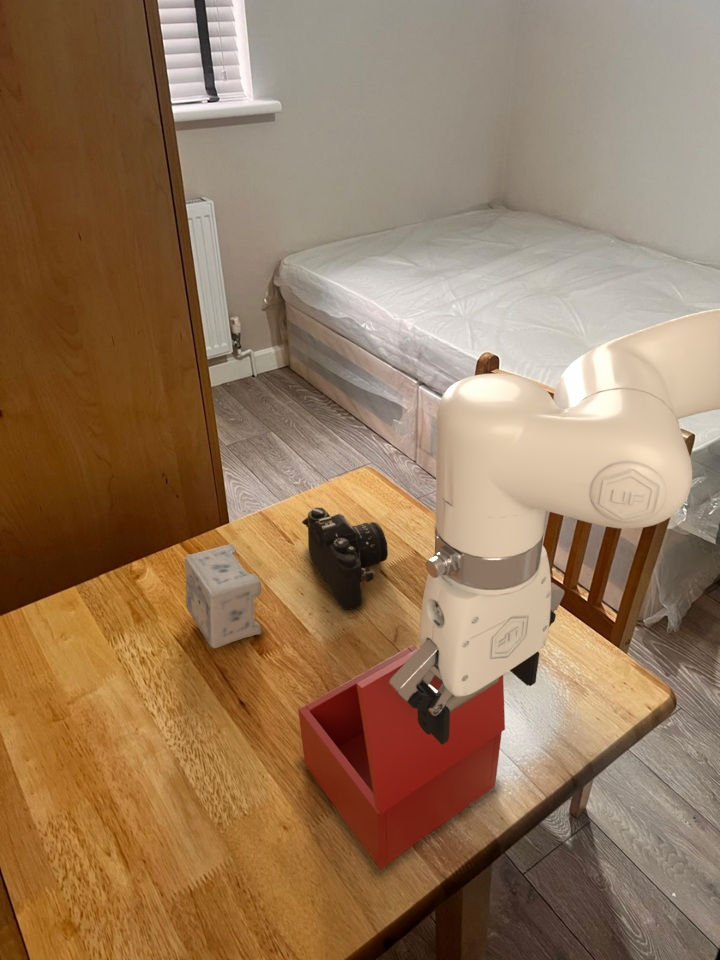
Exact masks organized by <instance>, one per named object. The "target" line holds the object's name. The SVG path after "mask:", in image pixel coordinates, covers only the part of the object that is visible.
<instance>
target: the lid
mask: <svg viewBox="0 0 720 960" xmlns="http://www.w3.org/2000/svg"><path fill="white" fill-rule="evenodd" d="M417 648H418V649H419V647H417ZM418 649H416V650H415V651H413V652H411V653H409V654H407V655H406V656H404V657H402V658H400V659H399V660H397V661H395V662H393V663H392V664H390V665H388V666H386V667H385V668H383V669H381V670H379V671H378V672H376V673H374V674H372V675H371V676H369V677H367V678H365V679H364V680H362V681H360V682H358V683H357V690H358V697H359V703H360V710H361V716H362V722H363V729H364V735H365V742H366V748H367V755H368V761H369V768H370V774H371V781H372V787H373V793H374V800H375V806H376V809H377V811H378V812H379V813H380V814H382V813H383V812H384V811H386V810H387V809H389V808H390V807H392V806H393V805H395V804H396V803H398V802H399V801H401V800H402V799H404V798H405V797H407V796H408V795H409V794H411V793H412V792H414V791H415V790H417V789H418V788H420V787H421V786H423V785H424V784H426V783H427V782H429V781H430V780H432V779H433V778H434V777H436V776H437V775H439V774H440V773H442V772H443V771H445V770H446V769H448V768H449V767H451V766H452V765H454V764H455V763H456V762H458V761H459V760H461V759H462V758H464V757H465V756H467V755H468V754H470V753H471V752H473V751H474V750H476V749H477V748H479V747H480V746H481V745H483V744H484V743H486V742H487V741H489V740H490V739H492V738H493V737H495V736H496V735H498V734H499V733H501V732H504V731H506V720H505V716H506V715H505V691H504V690H505V689H504V688H505V687H504V674H503V675H502V676H500V677H498V678H497V679H495V680H494V681H492V682H491V683H489V684H487V685H486V686H484V687H482V688H481V689H479V690H477V691H476V692H474V693H472V694H469V695H466V696H461V697H456V696H454V695H453V694H452V696H451V697H450V699H449V700H448V702H447V704H446V706H447V707H448V708H449V710H450V726H449V739H448V741H447V742H446V743H444V744H443V745H442V744H441V743H440V742H439V741H438V740H437V739H436V738H435V737H434V736H433V735H432V734H430V735H428V734H426V733H425V732H424V731H423V729H422V728H421V727H420V725H419V723H418V709H416V708H413V707H412V706H411V705H410V704H409V703H408V702H406V701H405V700H404V699H403V698H402V697H401V696H400V695H399V694H398V693H397V692H396V691H395V690H394V688H393V687H392V686H391V685H390V684H389V681H390V679H391V678H392V676H393V675H394V674H395V673H396V672H397V671H398V670H399V669H400V668H401V667H402V666H403V665H404V664H405V663H406V662H407V661H408V660H409V659H410V658H411V657H412V656H413V655H414V654H415V652H416V651H417V650H418ZM442 684H443V683H442V682H441V681H440V680H439V679H438V678H437V677H436V676H434V677H433V679H432V680H431V682H430V684H429V685H428V686H430V687H431V688H432V689H433V690H434V691H435V692H436V693H437V692H438V690H439V688H440V687H441V685H442ZM501 734H502V733H501Z"/></svg>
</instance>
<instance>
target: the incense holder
mask: <svg viewBox="0 0 720 960" xmlns="http://www.w3.org/2000/svg"><path fill="white" fill-rule="evenodd" d="M236 552H237V548H236V546H235V545H234V544H233V543H230V544H225V545H220V546H218V547H217V546H216V547H214V548H209V549H207V550H203V551H199V552H194V553H191V554H187V555H185V558H184V568H185V570H184V573H185V575H184V576H185V605H186V609H187V611H188V613H189V615H190V617H192V619H193V620H194V622H195V623H196V626H197V627H198V629H199V630H200V632H201V633H202V635H203V637H204V639H205V640H206V642H207V644H208V646H209V647H210V648H211V649H217V648H220V647H223V646H226V645H228V644H231V643H233V642H236V641H239V640H242V639H245V638H250V637H253V636H255V635H256V636H257V635H261V634H262V626H261V624H260V623H259V622H257V621H256V620H255V619H256V618H255V609H256V607H255V599H256V598H257V597H258V596H259V595H260V594H261V593H262V582H261V579H260V577H259V576H258V575H256V574H254V573H249V572H247V570H246V569H244V567H243V566H242V565H241V563H240V561H239V560H238V559H237V557H236V556H235V555H234V554H235V553H236Z"/></svg>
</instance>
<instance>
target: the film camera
mask: <svg viewBox="0 0 720 960" xmlns="http://www.w3.org/2000/svg"><path fill="white" fill-rule="evenodd" d="M301 524H303V525H304V526H305V527H306V528H307V538H308V543H307V544H308V554H309V556H310V559H311V561H312V563H313V565H314V566H315V567H316V569H317V571H318V572H319V574H320V576H321V577H322V579H323V581H324V583H325V584H326V585H327V586H328V588H329V589H330V591H331V593H332V595H333V597H334V598H335V600H336V601H337V603H338V604H339V605H340V606H341V607H342V608H343V609H344V610H346V611H349V610H354V609H356V608H358V607H360V606H361V605H362V583H364V582H367V583H368V582H371V581H373V580H374V579H375V571H374V570H373V569H372V568H371V567H372V566H376V565H379V564H380V563H383V562H385V561H386V560H387V559H388V556H389V552H388V551H389V550H388V542H387V539H386V536H385V535H386V534H385V532H384V530H383V529H382V527H381V525H380V524H379V523H378V522H375V521H371V522H369V523H368V522H363V523H360V524H357V525H351V523H350V522H349V520H348V519H347V518H346V517H345V515H344V514H340V513H337V514H335V515H332V516H331V514H329V513H328V511H326V510H325V509H324V508H323V507H314V508H313V509H312V510H310V511H308V513H307V517H306V518H304V519H303V520H302V521H301ZM366 569H368V570H369V571H366Z"/></svg>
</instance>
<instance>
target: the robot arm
mask: <svg viewBox="0 0 720 960" xmlns="http://www.w3.org/2000/svg"><path fill="white" fill-rule="evenodd" d="M715 410H716V411H717V410H720V308H713V309H707V310H703V311H699V312H695V313H690V314H686V315H682V316H679V317H675V318H672V319H670V320H666V321H662V322H660V323H657V324H653V325H651V326H648V327H645V328H642V329H639V330H636V331H633V332H631V333H628V334H625V335H622V336H619V337H617V338H614V339H612V340H609V341H607V342H604V343H602V344H600V345H598V346H595V347H593V348H592V349H590V350H589V351H587V352H585V353H584V354H582V355H579V357H577V359H575V360H574V361H572V363H570V364H569V365H568V367H567V368H566V369H565V370H564V371H563V373H562V374H561V376H560V377H559V380H558V382H557V383H556V385H555V388H554V392H553V397H552V395H551V394H550V393H549V392H548V391H547V389H545V388H544V387H543V386H542V385H540V384H538V383H537V382H535V381H533V380H531V379H529V378H526V377H523V376H520V375H515V374H509V373H482V374H476V375H471V376H468V377H465V378H463V379H460V380H459V381H457V382H455V383H453V384H452V385H450V386H449V387H448V388H447V390H446V391H445V392H443V394H442V396H441V398H440V400H439V402H438V406H437V410H436V421H435V422H436V426H435V427H436V429H435V431H436V432H435V433H436V434H435V435H436V436H435V437H436V438H435V448H436V449H435V524H434V526H435V527H434V529H435V530H434V532H435V533H434V543H435V544H434V554H433V556H432V557H431V558H429V559H427V560H426V561H425V568H426V570H427V577H426V581H425V586H424V591H423V597H422V603H421V609H420V610H421V611H420V618H419V619H420V620H419V633H418V634H419V636H418V643H419V644H418V645H419V646H418V648H419V649H418V650H417V651H416V652H415V654H414V655H413V656H412V657H411V658H410V659H409V660H408V661H407V662H406V663H405V664H404V665H403V666H402V667H401V668H400V669H399V670H398V671H397V672H396V673H395V674H394V675H393V676H392V678H391V679H390V681H389V684H390V685H391V686H392V687H393V688H394V690H395V691H396V692H397V693H398V694H399V695H400V696H401V697H402V698H403V699H404V700H405V701H406V702H408V703H409V704H410V705H411V706H412V707H413V708H416V709H418V723H419V725H420V727H421V728H422V729H423V731H424V732H425V733H426V734H428V735H430V734H432V735H433V736H434V737H435V738H436V739H437V740H438V741H439V742H440V743H441V744H442V745H443V744H444V743H446V742H447V741H448V739H449V726H450V710H449V708H448V707H447V706H446V704H447V702H448V700H449V699H450V697H451V696H452V694H453V695H454V696H456V697H461V696H466V695H469V694H472V693H474V692H476V691H477V690H479V689H481V688H482V687H484V686H486V685H487V684H489V683H491V682H492V681H494V680H495V679H497V678H498V677H500V676H502V675H503V676H504V675H505V674H506V673H508V672H511V673H512V674H513V676H515V677H516V678H518V680H519V681H521V682H522V683H523V684H524V685H525V686H528V687H531V686H533V685H535V684H536V682H537V675H538V667H539V660H540V659H539V658H540V652H539V651H540V650H541V649H542V648H543V647H544V646H545V645H546V643H547V640H548V636H549V632H550V631H549V630H550V627H551V626H552V624H553V623H554V622H555V621H556V617H557V614H556V613H555V611H557V610H558V608H559V606H560V604H561V602H562V600H563V598H564V596H565V594H566V591H565V589H563V588H561V587H560V586H558V585H557V584H556V583H555V582H552V577H551V568H550V561H549V557H548V553H547V550H546V548H545V546H544V545H543V543H544V542H543V541H544V535H545V534H544V533H545V527H546V517H547V512H548V513H553V514H556V515H560V516H564V517H567V518H571V519H575V520H578V521H581V522H585V523H588V524H592V525H598V526H602V527H607V528H613V529H623V530H624V529H629V530H630V529H644V528H648V527H653V526H655V525H658V524H661V523H662V522H663V523H664V522H665V521H667V520H669V519H670V518H671V517H672V516H674V515H675V514H676V513H677V512H679V511H680V509H681V508H682V507H683V506H684V504H685V503H686V501H687V499H688V497H689V495H690V492H691V490H692V485H693V467H692V460H691V455H690V453H689V450H688V447H687V443H686V440H685V438H684V435H683V432H682V430H681V427H680V423H679V420H680V419H683V418H686V417H690V416H695V415H699V414H702V413H707V412H711V411H715ZM434 676H436V677H437V678H438V679H439V680H440V681H441V682H442V683H443V684H442V685H441V687H440V688H439V690H438V692H437V693H436V692H435V691H434V690H433V689H432V688H431V687H430V686H428V685H429V684H430V682H431V680H432V679H433V677H434Z"/></svg>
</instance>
